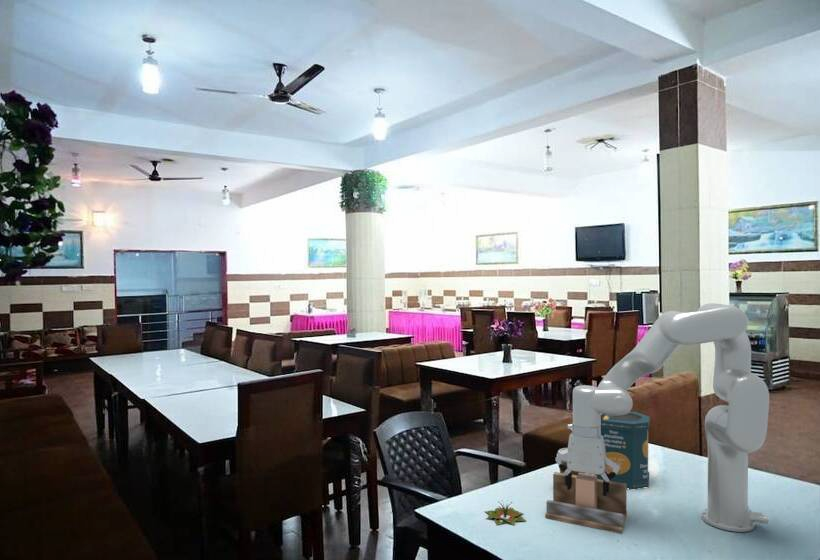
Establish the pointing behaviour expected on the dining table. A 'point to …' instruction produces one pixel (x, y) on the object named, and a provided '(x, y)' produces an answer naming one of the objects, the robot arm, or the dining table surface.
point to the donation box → (627, 447)
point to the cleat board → (604, 517)
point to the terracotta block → (586, 490)
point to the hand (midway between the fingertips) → (587, 491)
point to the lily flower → (505, 514)
